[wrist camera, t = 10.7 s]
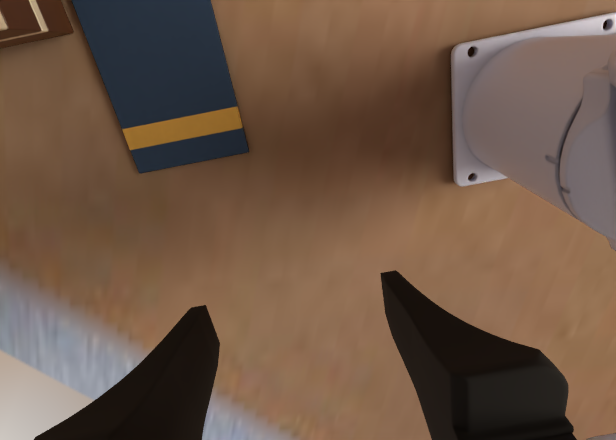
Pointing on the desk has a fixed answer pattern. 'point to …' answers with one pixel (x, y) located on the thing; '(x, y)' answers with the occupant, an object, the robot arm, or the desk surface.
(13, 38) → the cake slice
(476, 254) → the desk surface
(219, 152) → the cloth
